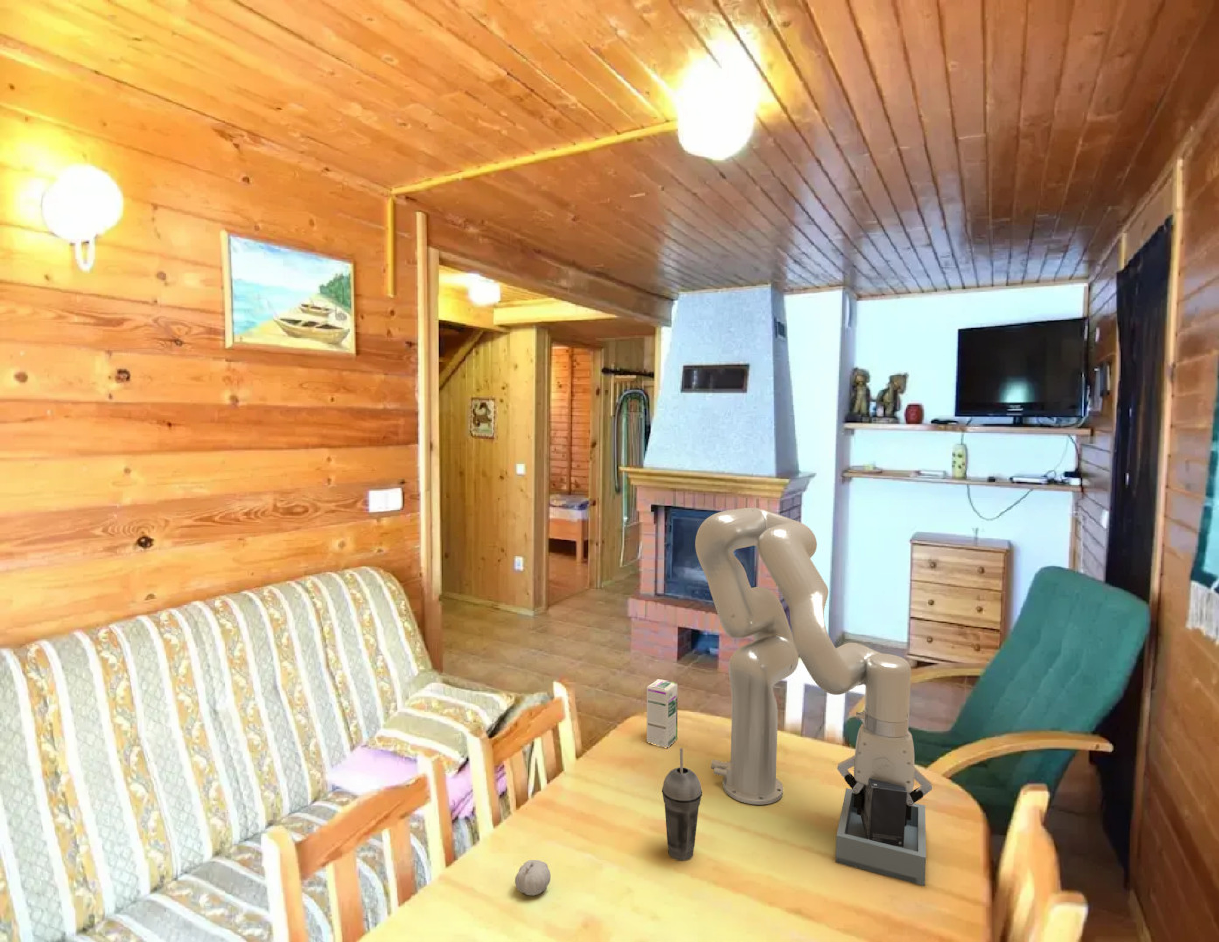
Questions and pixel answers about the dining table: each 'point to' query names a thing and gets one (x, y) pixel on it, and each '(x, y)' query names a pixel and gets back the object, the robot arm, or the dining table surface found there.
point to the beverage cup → (681, 810)
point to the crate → (882, 845)
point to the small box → (884, 812)
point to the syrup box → (662, 712)
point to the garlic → (533, 877)
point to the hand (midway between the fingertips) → (881, 815)
